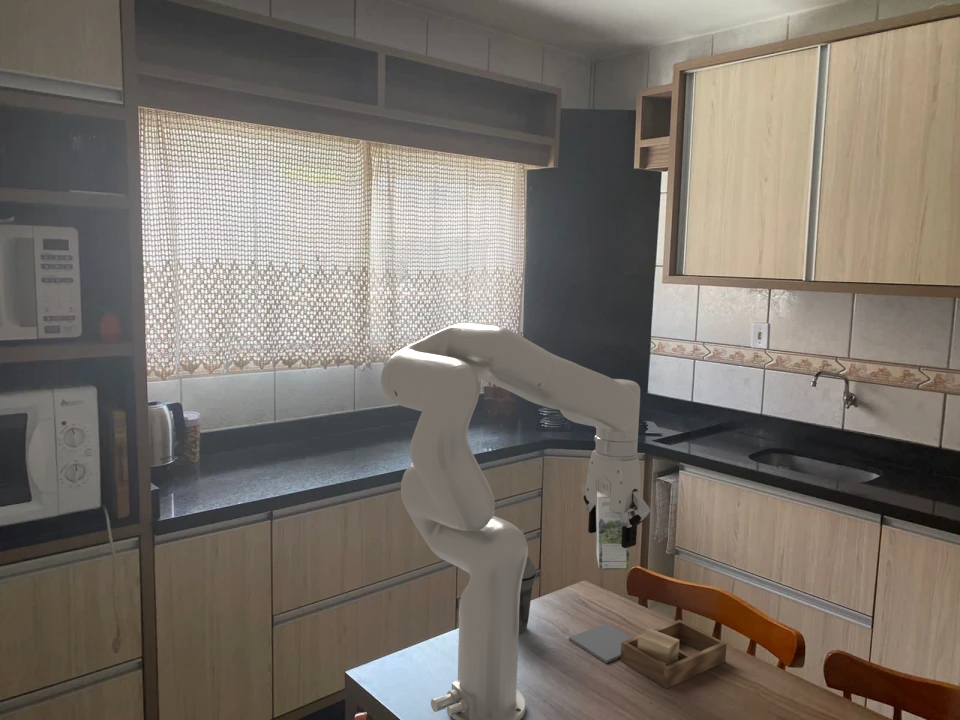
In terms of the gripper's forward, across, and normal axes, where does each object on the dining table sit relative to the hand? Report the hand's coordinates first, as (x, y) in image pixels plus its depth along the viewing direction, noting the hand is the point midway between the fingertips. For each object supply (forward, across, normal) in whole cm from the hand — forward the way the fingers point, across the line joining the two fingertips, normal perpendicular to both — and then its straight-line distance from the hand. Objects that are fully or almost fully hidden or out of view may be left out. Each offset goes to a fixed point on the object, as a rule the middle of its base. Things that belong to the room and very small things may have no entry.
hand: (611, 538), depth 138 cm
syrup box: (+5, 0, +1) cm, 5 cm away
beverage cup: (+21, -14, -11) cm, 28 cm away
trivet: (+21, 0, 0) cm, 21 cm away
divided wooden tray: (+21, +11, +6) cm, 24 cm away
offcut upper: (+18, +11, +2) cm, 21 cm away
